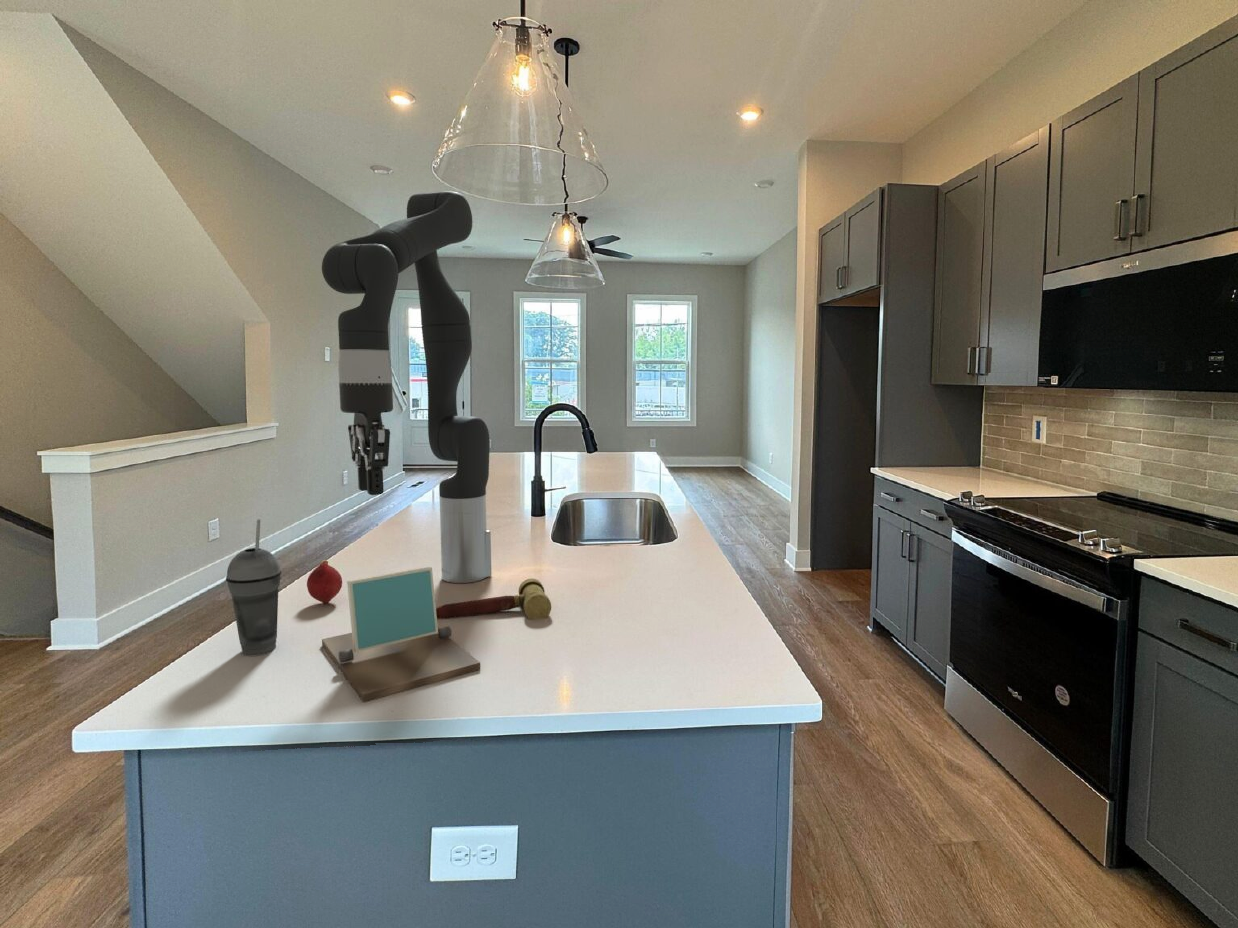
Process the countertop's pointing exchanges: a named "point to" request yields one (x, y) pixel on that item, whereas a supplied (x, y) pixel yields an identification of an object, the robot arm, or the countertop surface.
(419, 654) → the walnut board
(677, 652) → the countertop surface
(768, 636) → the countertop surface
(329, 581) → the onion
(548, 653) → the countertop surface
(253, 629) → the beverage cup
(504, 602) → the gavel
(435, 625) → the tile
